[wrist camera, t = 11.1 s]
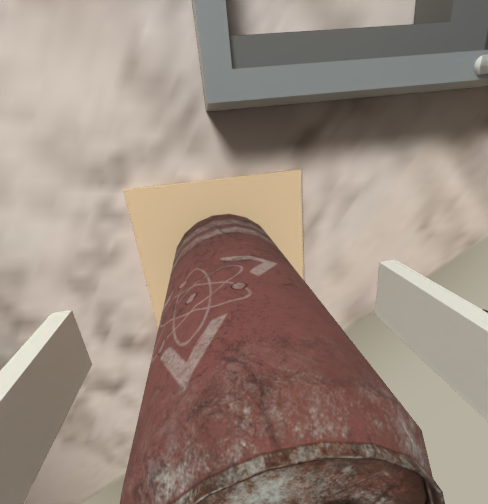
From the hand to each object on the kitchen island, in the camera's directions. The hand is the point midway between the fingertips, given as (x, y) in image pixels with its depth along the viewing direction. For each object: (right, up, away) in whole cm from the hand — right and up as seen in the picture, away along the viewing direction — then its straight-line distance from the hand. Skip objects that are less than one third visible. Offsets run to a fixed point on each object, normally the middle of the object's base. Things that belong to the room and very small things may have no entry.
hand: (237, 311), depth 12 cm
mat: (-1, +2, +6) cm, 6 cm away
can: (-1, +2, +6) cm, 6 cm away
